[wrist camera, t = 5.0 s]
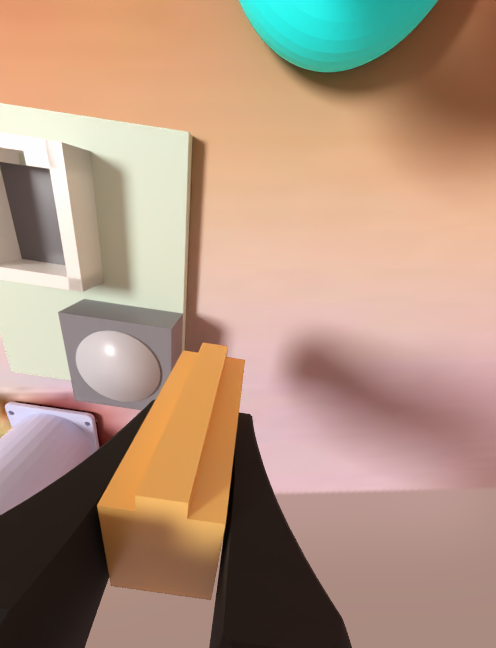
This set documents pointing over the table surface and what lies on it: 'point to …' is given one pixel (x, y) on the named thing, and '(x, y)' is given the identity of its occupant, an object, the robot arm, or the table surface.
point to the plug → (176, 481)
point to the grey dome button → (119, 351)
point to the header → (48, 215)
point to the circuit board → (107, 230)
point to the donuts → (334, 29)
